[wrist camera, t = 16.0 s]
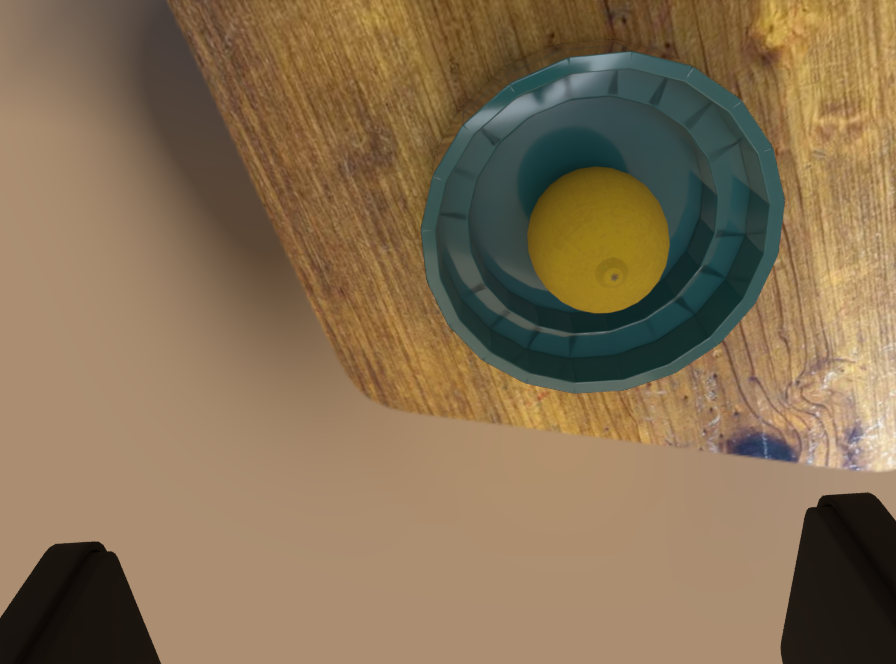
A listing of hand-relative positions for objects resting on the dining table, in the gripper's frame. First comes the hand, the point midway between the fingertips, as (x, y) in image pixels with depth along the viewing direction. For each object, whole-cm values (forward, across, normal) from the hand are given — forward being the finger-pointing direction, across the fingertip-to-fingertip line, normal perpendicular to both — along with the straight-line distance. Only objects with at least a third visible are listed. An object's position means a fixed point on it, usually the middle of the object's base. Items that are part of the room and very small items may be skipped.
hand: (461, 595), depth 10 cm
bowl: (+25, -6, +3) cm, 26 cm away
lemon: (+24, -6, +3) cm, 25 cm away
